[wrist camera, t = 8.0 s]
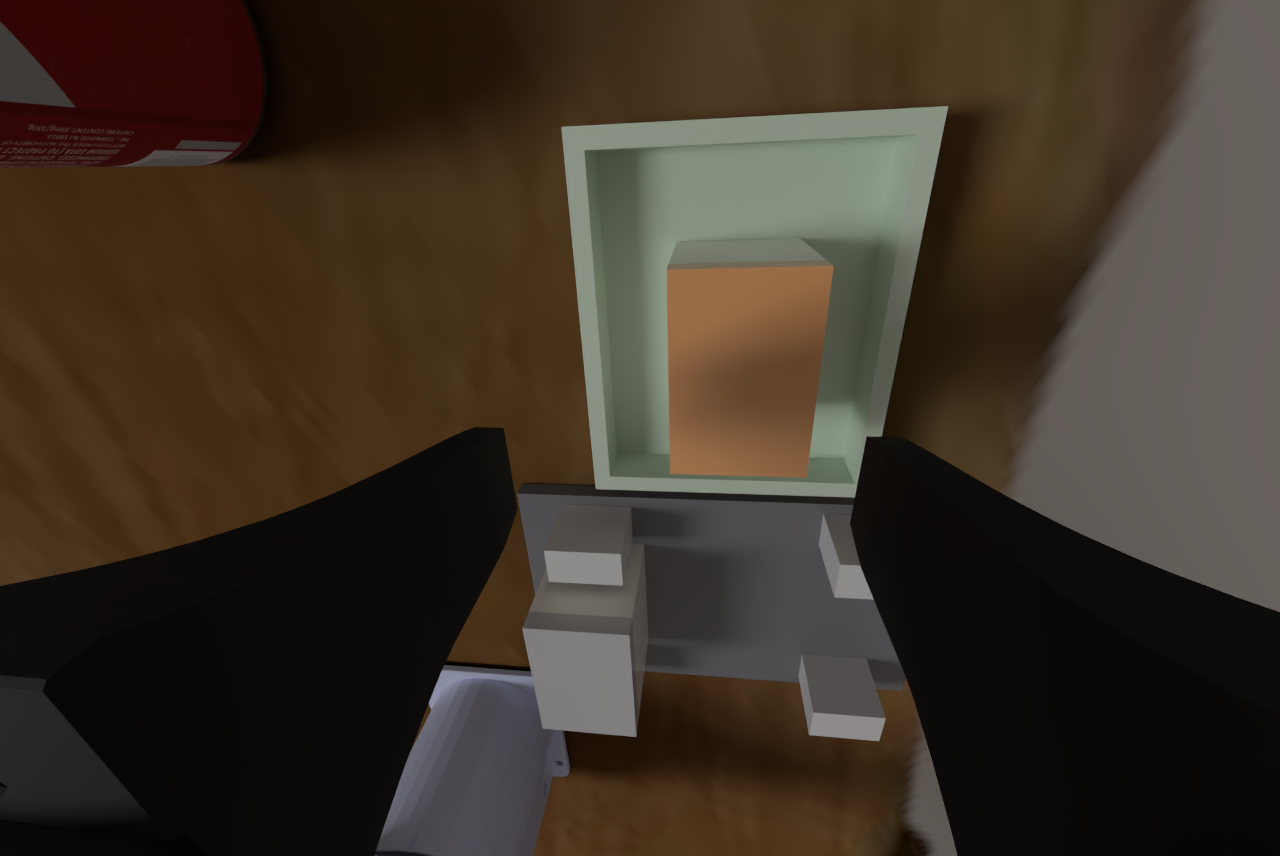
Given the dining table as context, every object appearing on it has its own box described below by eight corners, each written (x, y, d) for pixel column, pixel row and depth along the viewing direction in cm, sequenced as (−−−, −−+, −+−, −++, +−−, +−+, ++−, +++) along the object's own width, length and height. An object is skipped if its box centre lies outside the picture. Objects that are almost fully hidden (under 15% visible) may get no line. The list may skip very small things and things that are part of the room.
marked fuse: (783, 405, 19) (806, 477, 15) (678, 404, 20) (669, 474, 15) (799, 237, 17) (833, 265, 12) (676, 241, 17) (666, 269, 13)
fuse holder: (896, 675, 26) (924, 752, 23) (551, 651, 28) (530, 717, 25) (947, 496, 21) (993, 560, 18) (522, 483, 23) (491, 538, 20)
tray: (853, 465, 21) (869, 497, 19) (606, 458, 22) (595, 489, 20) (916, 113, 15) (948, 106, 13) (579, 131, 16) (561, 127, 14)
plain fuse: (648, 638, 26) (636, 736, 21) (570, 632, 26) (542, 728, 22) (644, 543, 23) (629, 635, 18) (556, 540, 23) (522, 628, 19)
